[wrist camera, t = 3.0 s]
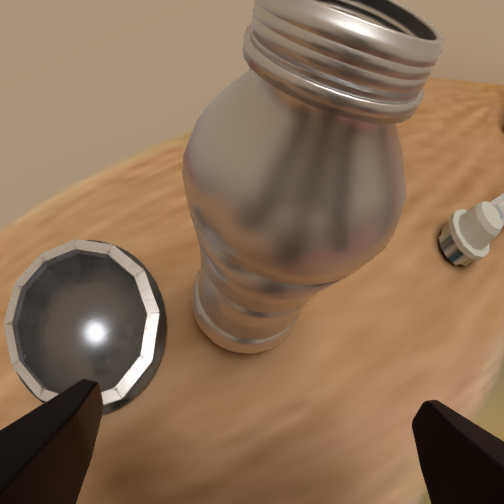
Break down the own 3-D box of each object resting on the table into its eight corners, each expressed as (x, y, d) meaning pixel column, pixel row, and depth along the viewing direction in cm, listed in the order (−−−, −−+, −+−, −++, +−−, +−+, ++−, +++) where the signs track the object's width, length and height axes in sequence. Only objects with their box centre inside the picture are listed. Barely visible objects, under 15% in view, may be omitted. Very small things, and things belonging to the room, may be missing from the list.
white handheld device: (544, 200, 30) (506, 241, 20) (516, 224, 36) (456, 277, 25) (525, 171, 32) (472, 189, 21) (498, 196, 38) (427, 231, 27)
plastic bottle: (230, 252, 24) (286, -46, 6) (305, 306, 23) (499, 58, 5) (173, 318, 21) (93, -13, 3) (254, 378, 20) (528, 190, 2)
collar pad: (93, 453, 16) (86, 455, 15) (-14, 329, 18) (-23, 324, 17) (205, 312, 22) (204, 307, 20) (83, 215, 24) (79, 206, 22)
